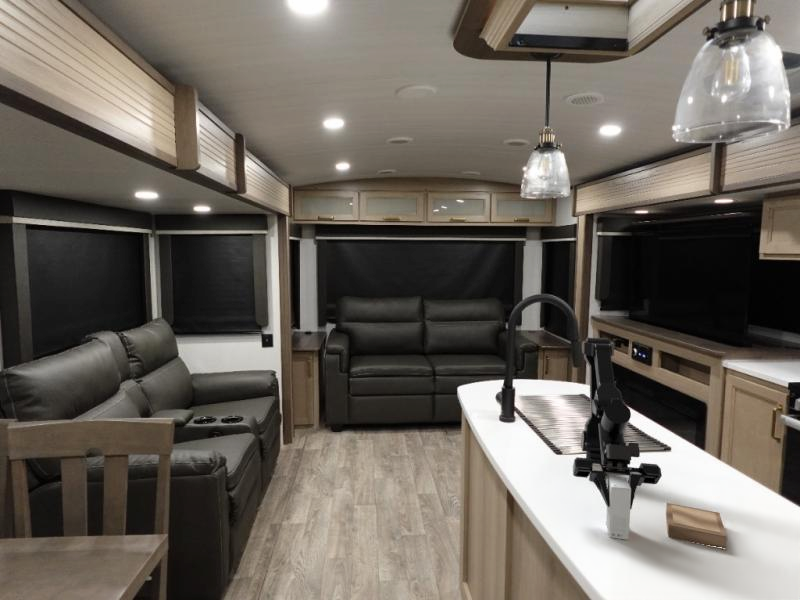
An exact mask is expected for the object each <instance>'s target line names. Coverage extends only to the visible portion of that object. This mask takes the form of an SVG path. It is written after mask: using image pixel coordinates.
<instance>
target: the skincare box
mask: <svg viewBox="0 0 800 600" xmlns="http://www.w3.org/2000/svg"><path fill="white" fill-rule="evenodd" d="M607 490H608V495H609V501H610V506H609V507H607V506H606V517H605V519H606V520H605V525H606V530H607V533H608V536H609V538H613V539H618V540H619V539H621V540H625V541H626V540H627V541H629V540H630V527H631V526H630V524H631V523H630V522H631V509H630V503H631V488H630V485H629V483H628V479H627V477H620V476H619V477H618V476H612V475H607Z"/></svg>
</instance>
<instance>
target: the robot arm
mask: <svg viewBox="0 0 800 600" xmlns="http://www.w3.org/2000/svg"><path fill="white" fill-rule="evenodd" d="M581 352H582V354H583V358H584V361H585V362H586V364H587V366H588V367H589V417H588V418H587V420H586V422H585V424H584V430H582V431H581V432H582V433H581V437H580V447H581V450H582V452H585V457H578V456H577V457H576V458H575V459H573V460H574V461H573V465H572V475H573V477H576V478H585V479H587V478H588V477H589V478H588V480H589V482H593V484H594V485H595V487H596V488H597V490H598V491H599V493H600V495H601V497H602V499H603V501H604V503H605V505H606V508H607V507H609V506H610V501H609V495H608V490H607V489H608V484H607V479H606V476H608V475H615V476H616V475H617V476H627V477H628V479H627V481H628V483H629V485H630V488H631V503H630V510H632V509H633V503H634V501H635V500H634V499H635V495H636V491H637V488H638V487H640V486H642V485H643V484H648V485H649V484H650V485H656V484H658V483H659V481H660V480H661V478H662V469H661V467H660V466H659V465H658V464H657V463H647V462H646V463H644V462H641V463H640V464H639V467H632V466H629V465H631V461H632V458H639V457H640V455H641V454H640V452H641V451H640V445H639V442H632V441H631V442H628V445H627V444H626V441H625V440H626V439H625V431H626V430H627V428H628V425H629V423H630V419H631V415H632V414H631V409H630V408H629V406H628V405H627V404H626V402H625V401H624V400H623V396H622V395H623V394H622V392H621V391H620V390H619V388H617V387H616V383H615V376H614V369H613V362H612V357H613V356H615V343H614V342H613V341H610V340H609V338H608V337H607V338H605V337H586V339H585V340H583V341H582V342H581Z"/></svg>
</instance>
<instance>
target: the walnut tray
mask: <svg viewBox="0 0 800 600" xmlns="http://www.w3.org/2000/svg"><path fill="white" fill-rule="evenodd" d="M665 506H666V507H665V517H666V526H667V535H668V537H667V538H670V539H675V540H678V541H682V540H683V542H687V541H688V543H692V542H694V543H693V544H696V543H699V544H698V545H701V544H704V545H703V546H706V545H710V546H716V547H722V548H726V549H727V541H728V535H727V533H726V528H725V527H724V526H725V525H724V523H723V519H722V516H721V513H720V512H718V511H713V510H709V509H708V510H706V509H702V508H696V507H691V506H686V505H681V504H675V503H669V502H666V505H665ZM710 546H709V547H710Z"/></svg>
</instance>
